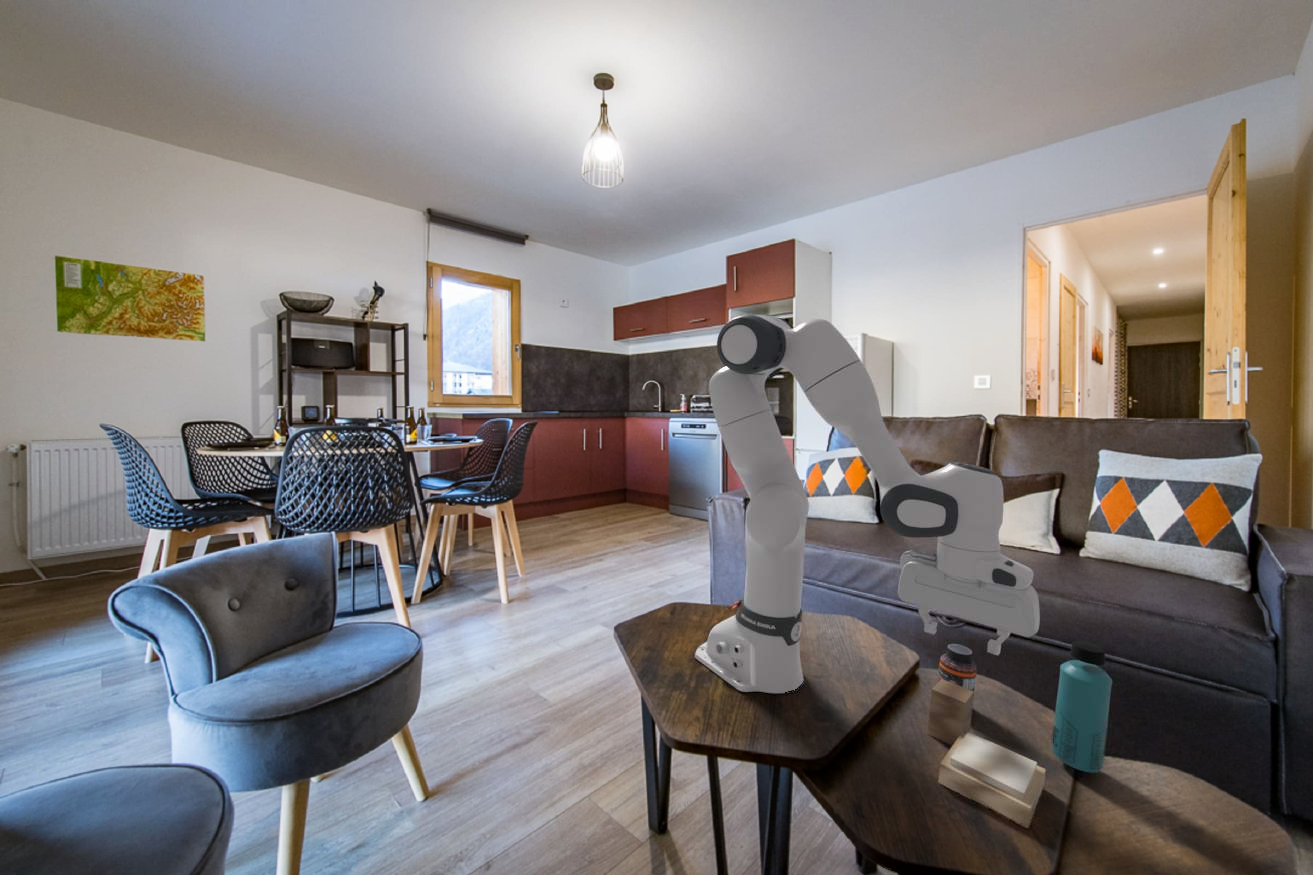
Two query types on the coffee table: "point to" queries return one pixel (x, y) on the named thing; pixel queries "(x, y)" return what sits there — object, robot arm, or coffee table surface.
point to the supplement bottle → (958, 667)
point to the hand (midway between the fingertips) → (960, 642)
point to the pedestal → (993, 776)
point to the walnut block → (950, 711)
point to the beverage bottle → (1082, 709)
